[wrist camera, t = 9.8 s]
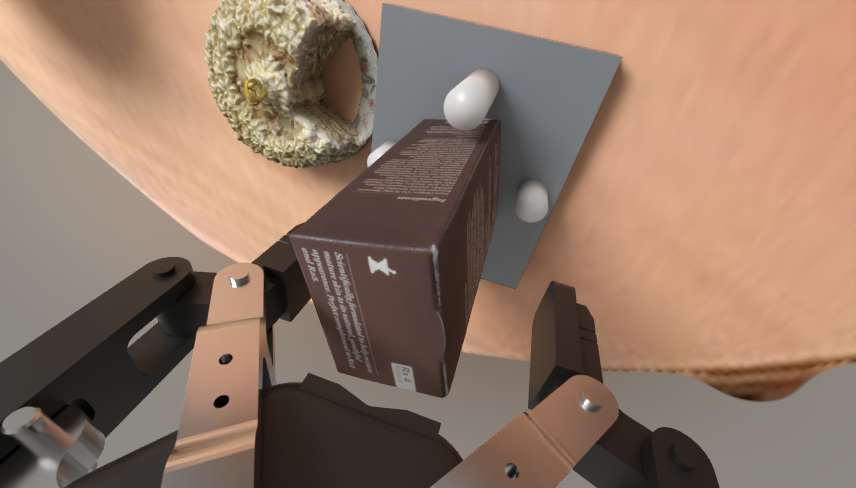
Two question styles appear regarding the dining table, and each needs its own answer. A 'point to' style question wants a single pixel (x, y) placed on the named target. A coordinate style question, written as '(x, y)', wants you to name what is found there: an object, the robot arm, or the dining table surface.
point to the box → (405, 255)
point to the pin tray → (493, 110)
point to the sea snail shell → (288, 77)
